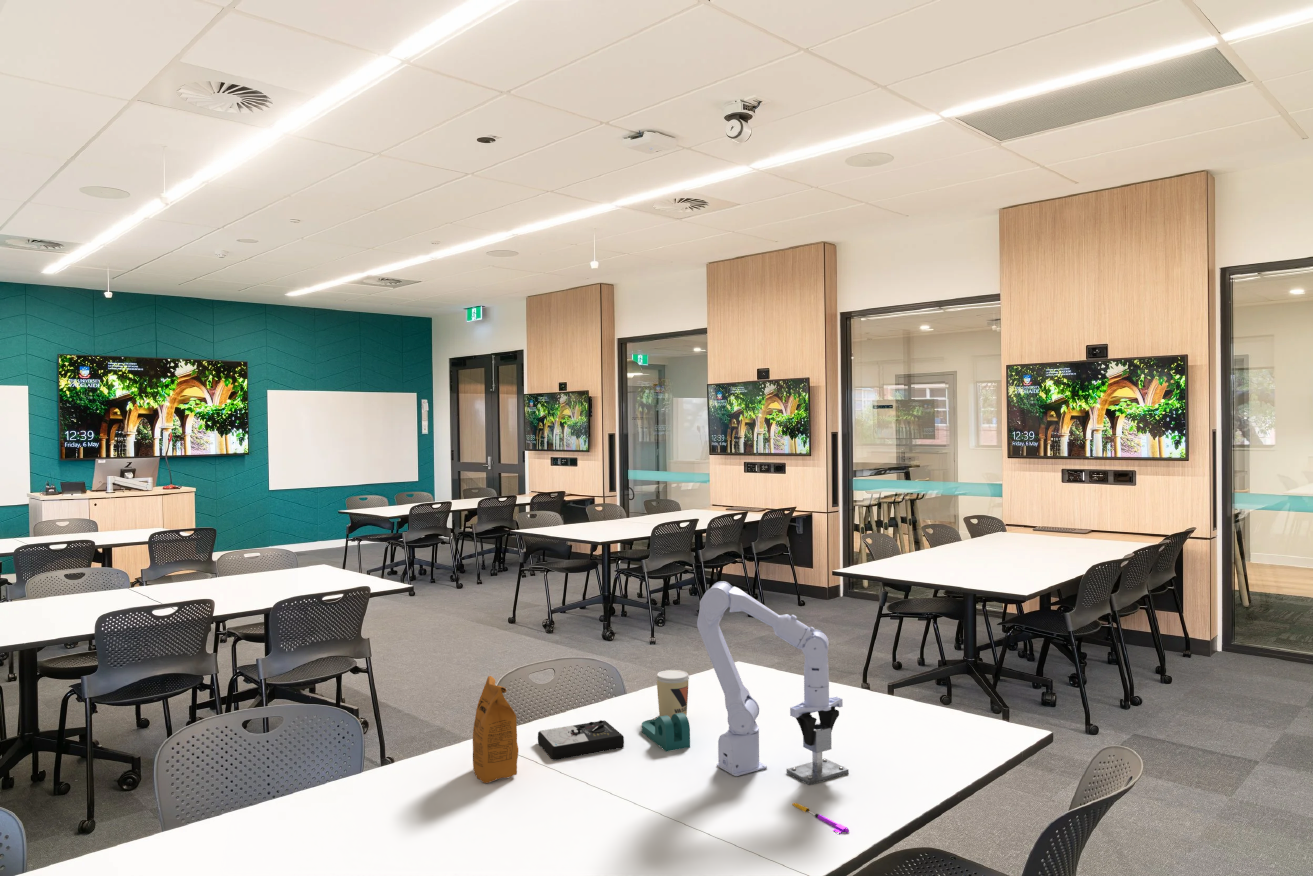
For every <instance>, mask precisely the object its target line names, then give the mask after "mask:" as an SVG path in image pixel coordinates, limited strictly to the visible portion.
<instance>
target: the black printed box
mask: <svg viewBox="0 0 1313 876" xmlns="http://www.w3.org/2000/svg"><path fill="white" fill-rule="evenodd" d="M537 743H538V746H539V747H540V748H541V749H542V750H543V751H544V752H545V754H547V756H548V757H549V758H550V759H551V761H559V760H564V759H569V758H574V757H580V756H581V757H582V756H585V755H592V754H597V753H603V752H608V751H613V750H614V751H615V750H620V749H624V748H625V737H624V735H623V734H622V733H621V732H620V731H618V730H617V729H616V728H615V727H614V726H612V725H611V723H609V722H608V721H606V720H601V719H600V720H598V721H589V722H586V723H585V722H584V723H580V724H574V725H566V726H562V727H556V728H555V727H554V728H550V729H549V728H548V729H544V730H539V731H538V732H537Z"/></svg>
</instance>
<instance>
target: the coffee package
mask: <svg viewBox="0 0 1313 876" xmlns="http://www.w3.org/2000/svg"><path fill="white" fill-rule="evenodd" d="M505 693H507V688H506V687H504V686H501V685H496V678H494V677H493V676H492V675H489V676H487V679H486V682H485V684H484V687H483V689H482V692H481V695H480V697H479V699H478V703H477V705H476V706H477V707H476V710H475V711H476V712H475V717H474V723H473V730H472V765H473V766H472V767H473V768H472V769H473V772H474V774H475V777H476V779H478V780H480V781H481V782H482V783H484V784H489V783H492V782H495V781H496V780H500V779H506V778H507V779H508V778H512V777H513V776H516V775H518V757H519V745H518V731H517V728H518V727H517V723H518V722H517V715H516V713H515V711H514V709H513V708H512V706H511V705H510V703H509V702H508V701H507V700H506V697H505V695H504V694H505Z"/></svg>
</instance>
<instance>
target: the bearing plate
mask: <svg viewBox="0 0 1313 876" xmlns="http://www.w3.org/2000/svg"><path fill="white" fill-rule="evenodd" d="M811 752H812V761H811V762H807V763H803V764H799V765H796V766H792V767H789V768H786V774H788V775H789V776H791V777H793V778H795V779H797V780H799V781H800V782H803V783H805V784H806V785H808V786H811V785H815V784H818V783H822V782H825V781H828V780H831V779H834V778H839V777H842V776H845V775H848V774H849V773H850V772H849V769H848V768H846V767H845V766H842V765H839V763H836V762H833V761H832V760H829V759H828V758H823V752H820V753H815V752H813V751H811Z"/></svg>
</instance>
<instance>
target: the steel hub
mask: <svg viewBox="0 0 1313 876" xmlns="http://www.w3.org/2000/svg"><path fill="white" fill-rule="evenodd" d="M802 738H803V739H802V742H803V743H802V744H803V745H802V747H803V748H804V749H806V750H809V751H811V752H812V751H813V752H815V753H820V752H822V753H823V752H827V751H830V750H832V732H831V728H830V727H828V726H826V725H823V724H821V723H820V722H818V721H816V723H815V727H814V740H813V745H812V746H809V745H807V744H805V741H804V737H803V736H802Z"/></svg>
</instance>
